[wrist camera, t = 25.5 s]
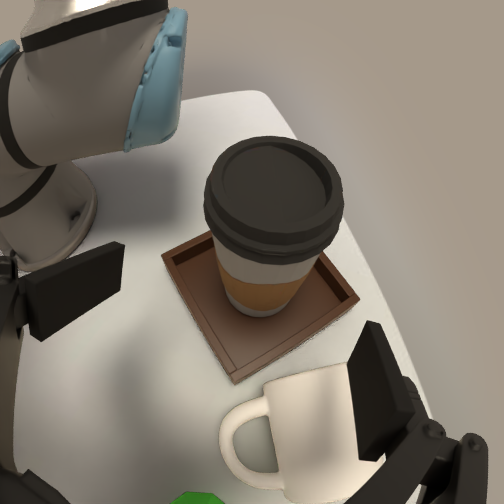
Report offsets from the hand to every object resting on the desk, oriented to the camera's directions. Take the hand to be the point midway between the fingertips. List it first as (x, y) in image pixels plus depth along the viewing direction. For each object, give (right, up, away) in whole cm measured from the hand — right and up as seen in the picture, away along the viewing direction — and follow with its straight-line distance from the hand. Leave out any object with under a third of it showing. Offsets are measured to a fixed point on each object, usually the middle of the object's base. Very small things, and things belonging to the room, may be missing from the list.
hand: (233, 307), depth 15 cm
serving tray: (+1, -1, +15) cm, 15 cm away
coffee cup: (+2, -1, +14) cm, 15 cm away
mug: (+4, -13, +8) cm, 16 cm away
